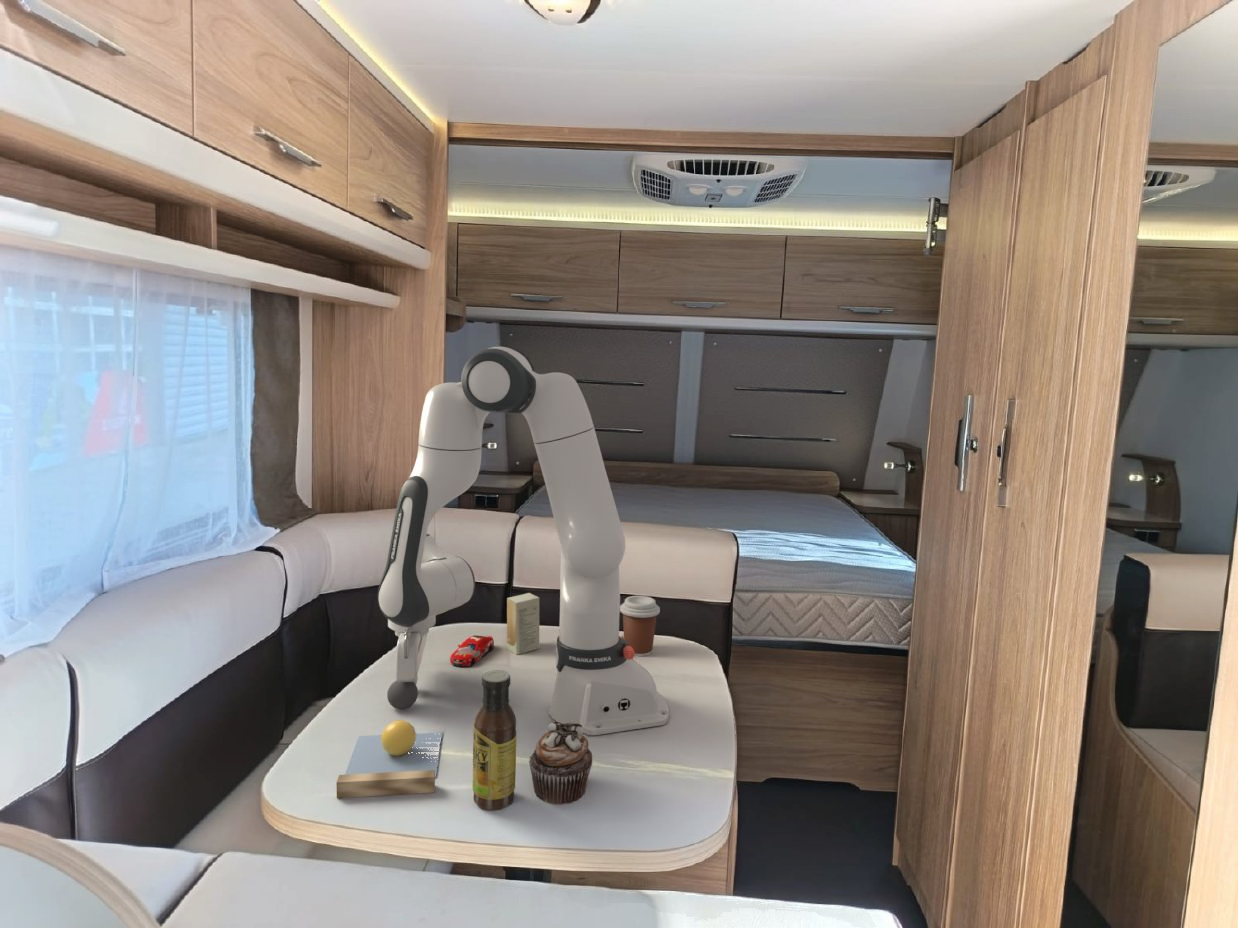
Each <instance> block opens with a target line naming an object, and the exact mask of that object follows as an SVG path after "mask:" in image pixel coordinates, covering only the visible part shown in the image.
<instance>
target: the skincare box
mask: <svg viewBox="0 0 1238 928" xmlns="http://www.w3.org/2000/svg"><path fill="white" fill-rule="evenodd" d="M506 619H507V620H506V634H507V635H506V637H507V638H506V639H507V640H506V643H507V644H506V646H507V647H506V649H507V650H509V651H510V652H512V653H513V654H515V655H517V656H518V655H521V654H525V653H528V652H532V651H534V650H538V649H540V597H539V596H537V595H534V594H532V593H531V592H527V593H523V594H518V595H513V596H510V597H507V598H506Z"/></svg>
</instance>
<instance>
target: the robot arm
mask: <svg viewBox="0 0 1238 928" xmlns="http://www.w3.org/2000/svg"><path fill="white" fill-rule="evenodd" d="M460 378H461V379H460V381H459V382H450V381H449V382H443V383H440V384H436V385H434V386H433V387H431V388H430V389H429V390H428V392H427V393H426V395H425V397H424V398H425V399H424V401H423V407H422V410H421V411H422V412H421V416H420V423H419V430H418V431H419V433H418V446H417V455H416V458H415V459H416V460H415V463H414V466H413V468H412V471H411V473H410V475H409V477H408V478H407V480H406V481H405V482H404V483H403V485H402V487H401V489H400V492H399V496H398V500H397V503H396V509H395V514H394V520H393V526H392V531H391V537H390V542H389V549H388V554H387V560H386V565H385V568H384V571H383V574H382V577H381V579H380V582H379V586H378V588H377V604H378V608H379V610H380V612H381V613H382V615H383V616H384V617H385V618H386V619H387V627H388V628H389V629H390V630H392V631H394V634H395V636H396V637H398V639H397V642H396V643H397V644H396V656H395V660H396V661H395V678H396V680H397V681H398V682H414V683H415V684H416V685H417V683H418V680H419V679H418V677H419V670H420V667H421V663H422V658H423V654H424V652H425V651H424V650H425V646H426V643H427V638H428V634H429V631H430V629H431V628H433V627H434V626H435V625H436V616H437V615H441V614H444V613H446V612H448V611H451V610H453V609H455V608H459V607H460V606H463V605H464V604H466V603H467V604H468V603H469V601H471V599H472V598H473V595H474V593H475V588H476V578H475V573H474V570H473V569H472V567H471V565H470V564H469V562H468V561H466V560H465V559H463V558H462V557H460V556H456V555H452V554H451V553H449V552H448V551H446V550H444V549H443V547H442V548H441V546H439V545H438V543H437V542H436V541H435V539H434V537H433V536H432V534H430V533H428V529H429V525H430V523H431V521H432V520H433V518H434V517H435V515H436V514H438V512H439V511H440V510H441V509H442V508H444V507H445V506H446V505H447V504H449V503H450V502H452V501H453V500H454V499H456V498H457V497H459V496H461V495H462V494H463V493H465V492H466V491H468V490H469V489H470V488H471V486H472V485H474V483H475V482H476V480H477V478H478V476H479V473H480V469H481V463H482V448H483V447H482V446H483V430H484V429H483V428H484V425H485V424H484V423H485V420H486V418H487V417H488V415H489V414H490V413H493V414H513V415H514V414H515V415H516V414H518V415H519V414H522V415H523V417H524V419H525V420H526V422H527V425H528V427H529V429H530V432H531V436H532V440H533V445H534V448H535V451H536V452H535V453H536V455H537V459H538V463H539V465H540V468H541V469H540V471H541V473H542V477H543V481H544V483H545V486H546V487H545V488H546V491H547V496H548V500H549V504H550V509H551V513H552V517H553V519H554V524H555V527H556V532H557V536H558V539H559V542H560V575H559V576H560V578H559V579H560V581H559V584H560V586H559V588H560V590H559V596H560V597H559V627H558V628H559V629H558V631H559V633H558V634H559V635H558V636H557V638H556V645H555V666H556V677H555V682H554V683H555V684H554V687H553V688H554V689H553V693H552V696H551V700H550V702H549V703H550V704H549V706H548V714H549V715H550V717H551V718H552V719H553V720H554V721H557V722H560V723H561V724H566V723H576V724H580V725H582V728H583V729H584V733H583V734H586V735H588V736H598V735H605V734H611V733H612V734H613V733H619V732H625V731H631V730H637V729H644V728H652V727H660V726H663V725H666V724H667V723H668V721H669V719H670V709H669V708H670V707H669V706H668V702H667V701H666V699H665V698H664V697H663V695H662V694H661V693H660V692H659V691H658V690H657V686H656V683H655V679H654V677H653V676H652V675H651V673H650V672H649V670H647V669H646V668H645V667H644V666H643V665H641V664H640V663H638V662H637V661H636V660H634V658H635V657H636V656H634V655H635V652H634V650H633V648H632V647H631V646H629V643H628V641H626V640H625V638H624V635H621V636H620V617H621V616H620V613H621V612H620V605H621V594H620V593H621V591H620V565H621V563H622V560H623V558H624V555H625V551H626V538H625V535H624V529H623V526H622V524H621V519H620V516H619V513H618V510H617V506H616V501H615V498H614V496H613V495H614V494H613V491H612V489H611V484H610V480H609V477H608V474H607V471H606V468H605V463H604V459H603V456H602V455H603V454H602V451H601V448H600V444H599V440H598V438H597V432H596V429H595V426H594V422H593V420H592V415H591V412H590V409H589V406H588V404H587V401H586V399H585V397H584V394H583V392H582V390H581V388H580V387H579V384H578V382H577V380H576V379H575V378H574V377H573V376H572V375H569V374H568V373H565V372H555V371H554V372H549V373H543V374H542V373H541V374H540V373H537V372H535V367H534V365H533V363H532V362H531V360H530V359H529V357H527V356H526V355H525V354H524V353H523V352H521V351H519V350H517V349H515V348H509V347H507V346H506V347H505V346H492V347H488V348H485V349H482V350H479V351H477V352H475V353H474V354H472V355H471V356H470V357H469V359H468V360H467V361H466V362H465V365H464V366H463V368H462V372H461V377H460Z"/></svg>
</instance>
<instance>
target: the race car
mask: <svg viewBox="0 0 1238 928" xmlns="http://www.w3.org/2000/svg"><path fill="white" fill-rule="evenodd" d="M457 647H458V648H457V649H455V651H454V652H453V653H451V655H450V657H449V661H450V664H451V665H453V666H455V667H472V666H474V665H476V663H478V661H480V660H481V659H482V658H484V657H485V656H487V655H488V654H489V653H491V652H492V651H493V649H494V647H495V642H494V638H493V637H492V635H491V636H490V635H486V634H476V635H475V634H474V635H472V636H469V637H468V638H467V639H465V640H464V641H463V642H462V643H461V644H457Z"/></svg>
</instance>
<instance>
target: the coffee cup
mask: <svg viewBox="0 0 1238 928" xmlns="http://www.w3.org/2000/svg"><path fill="white" fill-rule="evenodd" d="M660 611H661V608H660V606H659V605H658V604H656V599H655V598H652V597H650V596H647V595H632V596H627V597H626V598H624V602H623V603H621V604H620V613H622V624H623V626H622V627H623V637H624V638H625V640H626V641H628V643H629V646H631V647H632V648H633V650H634V652H635V655H634V656H635V657H636V658H637V657H638V658H640V657H647V656H650V655H652V654H653V648H654V647H653V646H654V640H655V632H656V625H657V623H656V622H657V618H658V617H657V616H658V615H659V614H660V613H661V612H660Z"/></svg>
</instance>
